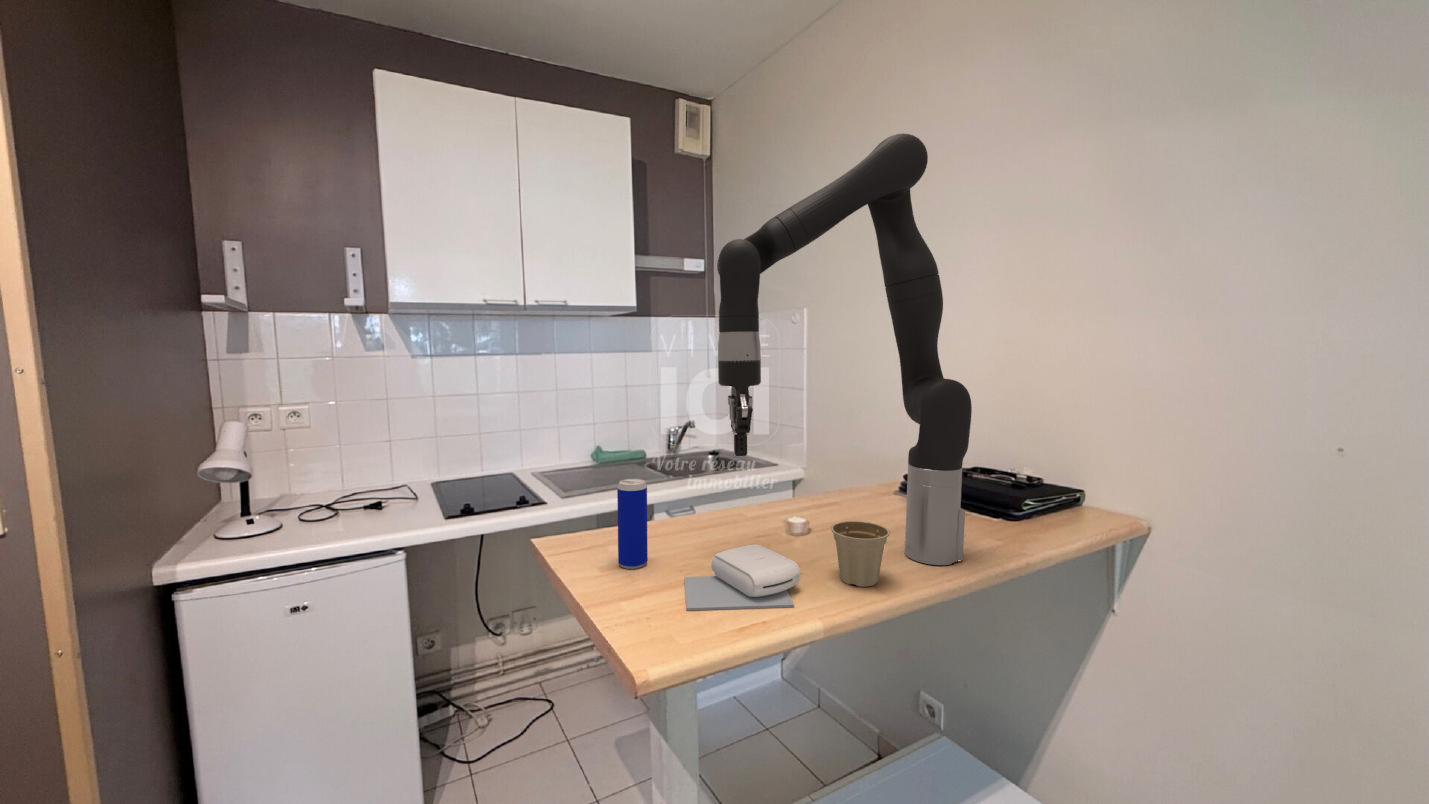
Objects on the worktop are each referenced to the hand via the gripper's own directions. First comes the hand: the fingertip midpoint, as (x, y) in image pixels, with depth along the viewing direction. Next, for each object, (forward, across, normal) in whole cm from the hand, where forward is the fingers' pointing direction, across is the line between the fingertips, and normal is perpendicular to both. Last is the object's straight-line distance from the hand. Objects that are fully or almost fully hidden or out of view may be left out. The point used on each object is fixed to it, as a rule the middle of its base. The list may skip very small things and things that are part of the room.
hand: (740, 455), depth 97 cm
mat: (+19, -13, +3) cm, 24 cm away
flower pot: (+20, -10, -18) cm, 29 cm away
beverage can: (+19, -1, +20) cm, 27 cm away
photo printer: (+17, -6, +2) cm, 18 cm away
